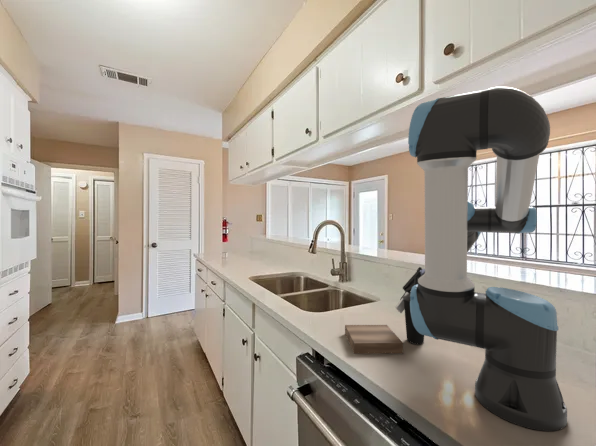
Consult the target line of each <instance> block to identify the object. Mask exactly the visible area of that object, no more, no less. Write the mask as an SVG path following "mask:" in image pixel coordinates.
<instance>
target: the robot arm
mask: <svg viewBox="0 0 596 446" xmlns="http://www.w3.org/2000/svg"><path fill="white" fill-rule="evenodd" d="M548 117H549V116H548V115H547V113H546V111H545V109H544V107H543V106H542V104H540V103H539V102H538V101H537V100H536V99H535V98H534V97H533V96H531V95H530V94H528V93H527V92H525V91H523V90H520V89H517V88H515V87H510V86H495V87H490V88H488V89H482V90H477V91H472V92H466V93H465V92H464V93H460V94H455V95H449V96H444V97H437V98H436V99H432V100H429V101H423V102H421V103H419V104H418V105H417V106H416V107H415V109H414V110H413V113H412V115H411V118H410V122H409V128H408V136H407V137H408V139H407V140H408V141H407V142H408V152H409V155H410V156H411V157H413V158H416V164H417V166H418V167H419V168H421V169H422V170H423V172H424V174H423V175H424V268H422V267H421V266H419V267H418V268H417V270H416V271H415V273H414V274H413V275H412V276H411V277H410V278H409V279H408V281H407V282H406V283H405V284H404V285H403V286H402V290H403V291H404V293H403V295H402V296H401V297H400V300H399V302H398V303H397V304H396V306H394V307H395V309H396V310H397V311H398V312H399V313H400V314H403V312H405V310H404V299H403V296H405V295H408V294H410V299H411V301H410V312H411V318H412V322H413V325H414V327H415V329H416V330H417V331H418V332H419V333H420V334H422V335H424V337H430V338H433V339H435V340H441V341H446V342H451V343H454V344H455V343H456V344H460V345H465V346H470V347H473V348H479V349H484V351H485V352H484V355H485V356H484V362H483V364H482V366H481V369H480V371H479V373H478V377H477V378H476V380H475V381H474V395H475V397H476V400H477V401H478V402H479V403H480V405H482V406H483V407H484V408H485V409H486V410H488V411H489V412H491V413H492V414H494V415H496V416H497V417H499V418H501V419H503V420H505V421H508V423H509V422H510V423H512V424H515V425H517V426H521V427H523V428H528V429H532V430H536V431H544V432H553V431H559V429H560V430H562V429H564V428H565V427H566V426H567V424H568V408H567V405H566V403H565V402H564V398H563V395H562V392H561V388H560V386H559V382H558V380H557V342H558V338H557V336H558V333H557V332H558V331H559V326H558V317H557V316H558V315H557V314H558V312H557V309H556V307H555V306H554V304H552V303H551V302H549V301H548V300H547V299H544V298H543V297H540V296H537V295H535V294H531V293H528V292H526V291H525V292H524V291H520V290H517V289H512V288H507V287H502V286H501V287H497V286H490V287H487V288H486V290H485V293H484V292H483V293H482V292H478V291H477V292H476V291H475V287H476V286H475V283H474V282H473V281H472V280H471V279H470V278H469V277H468V273H467V272H468V253H469V251H470V249H472V247H473V246H474V244H475V243H476V242H477V241H478V240H479V238H480V235H481V233H482V232H483V233H509V234H510V233H511V234H512V233H513V234H524V233H526V234H527V233H529V234H530V233H533V232H535V231H536V228H537V222H538V221H537V220H538V216H537V213H538V212H537V209H536V207H535V206H531V200H532V195H533V190H534V187H535V180H536V174H537V169H538V164H539V159H540V154H542V153H543V152H544V151H545V150H546V149H547V148H548V144H549V140H550V137H551V136H550V135H551V125H550V121H549V118H548ZM488 149H491V150H492V152H493V154H494V155H495V156H496V167H495V169H496V170H495V172H496V173H495V174H496V175H495V204H494V205H495V206H475V205H474V204H473V202H471V201H468V199H469V198H468V197H469V194H468V193H469V192H468V191H469V189H468V187H469V167H470V166H471V165H472V164H473V163H474V162H476V160H477V151H481V150H488ZM415 277H416V278H417V284H416V285H415Z"/></svg>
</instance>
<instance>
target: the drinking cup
mask: <svg viewBox="0 0 596 446" xmlns="http://www.w3.org/2000/svg"><path fill="white" fill-rule="evenodd" d="M416 284H417V278H416V277H415V285H416ZM402 296H403V295H402ZM403 299H404V318H405V319H404V321H405V322H404V323H405V332H406V341H407V342H408V343H410V344H413V345H423V344H424V343H425V335H422V334H420V333H419V332H418V331H417V330H416V329H415V327H414V325H413V322H412V318H411V312H410V301H411V299H410V294H408V295H405V296H403Z"/></svg>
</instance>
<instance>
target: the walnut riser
mask: <svg viewBox="0 0 596 446" xmlns="http://www.w3.org/2000/svg"><path fill="white" fill-rule="evenodd" d="M344 336H345V337H346V339H347V341H348V343H349V346H350V348H351V349H352V352H353V354H357V355H359V354H365V355H366V354H368V355H370V354H373V355H374V354H378V355H379V354H404V342H403V341H402V339H400V338H399V336H398V335H396V333H395V332H394V331H393V330H392V329H391V327H390V326H388V325H387V324H344Z"/></svg>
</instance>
